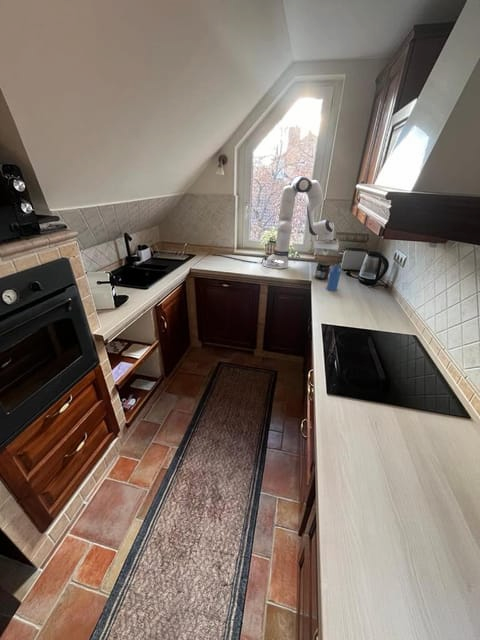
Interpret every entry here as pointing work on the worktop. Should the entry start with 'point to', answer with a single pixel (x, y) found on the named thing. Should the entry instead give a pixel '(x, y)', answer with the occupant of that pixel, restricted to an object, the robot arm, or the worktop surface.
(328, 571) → the worktop surface
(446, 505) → the worktop surface
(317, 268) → the supplement container
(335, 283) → the blue bottle
